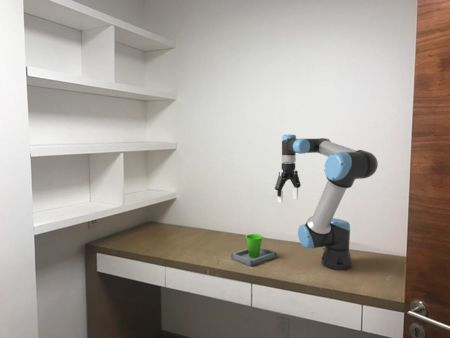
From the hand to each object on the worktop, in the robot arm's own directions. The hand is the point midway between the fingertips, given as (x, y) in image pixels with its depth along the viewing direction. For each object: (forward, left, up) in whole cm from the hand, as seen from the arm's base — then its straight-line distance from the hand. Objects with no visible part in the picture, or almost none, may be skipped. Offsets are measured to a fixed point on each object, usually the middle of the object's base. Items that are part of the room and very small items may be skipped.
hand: (287, 200), depth 200 cm
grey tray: (+4, +23, -29) cm, 37 cm away
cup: (+4, +23, -28) cm, 36 cm away
